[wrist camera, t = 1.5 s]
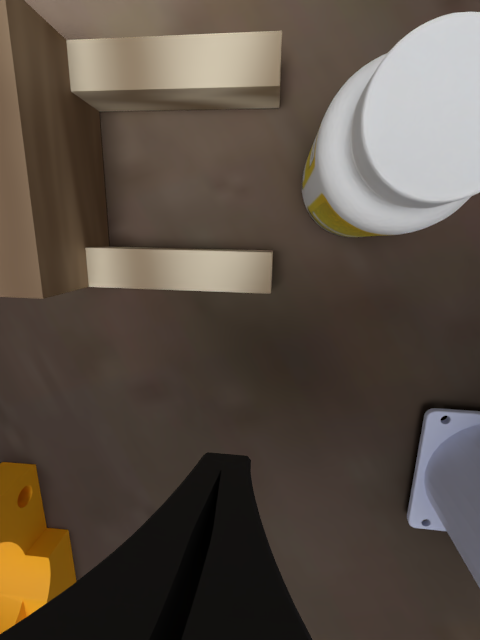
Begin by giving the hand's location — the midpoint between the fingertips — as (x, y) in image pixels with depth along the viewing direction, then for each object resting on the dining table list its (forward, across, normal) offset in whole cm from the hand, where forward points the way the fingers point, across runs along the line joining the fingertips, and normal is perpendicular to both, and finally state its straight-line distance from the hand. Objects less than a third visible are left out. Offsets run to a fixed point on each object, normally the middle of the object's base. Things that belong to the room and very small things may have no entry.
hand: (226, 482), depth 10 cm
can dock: (+10, +5, -10) cm, 15 cm away
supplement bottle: (+11, -5, -10) cm, 15 cm away
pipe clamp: (+11, +16, +15) cm, 24 cm away
